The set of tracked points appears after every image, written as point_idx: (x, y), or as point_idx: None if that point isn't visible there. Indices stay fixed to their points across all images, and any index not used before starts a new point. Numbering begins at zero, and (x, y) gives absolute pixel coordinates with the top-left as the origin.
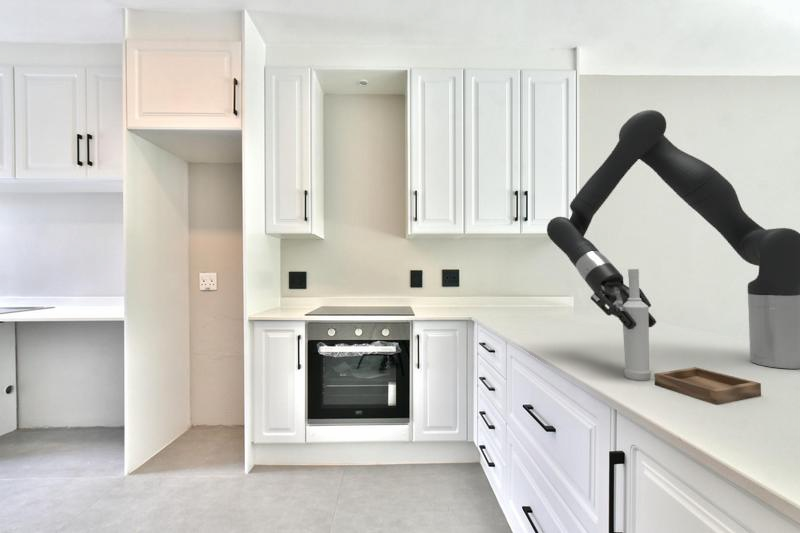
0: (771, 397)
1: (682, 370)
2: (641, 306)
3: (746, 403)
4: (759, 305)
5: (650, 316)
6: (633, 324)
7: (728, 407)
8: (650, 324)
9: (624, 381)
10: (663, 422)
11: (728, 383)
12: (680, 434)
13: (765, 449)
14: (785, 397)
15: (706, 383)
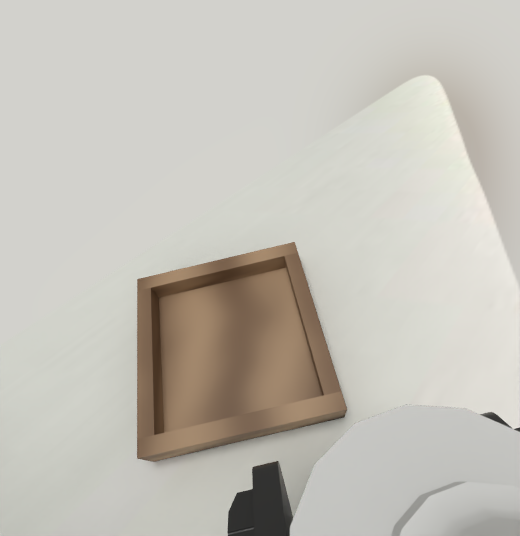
0: None
1: (218, 426)
2: (440, 416)
3: None
4: None
5: (272, 507)
6: (491, 415)
7: None
8: (287, 496)
9: None
10: (471, 197)
11: (159, 343)
12: (466, 162)
13: (368, 129)
14: (116, 280)
15: (207, 362)
